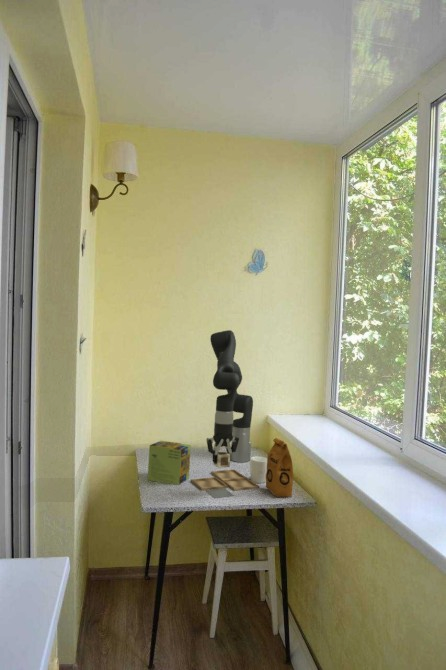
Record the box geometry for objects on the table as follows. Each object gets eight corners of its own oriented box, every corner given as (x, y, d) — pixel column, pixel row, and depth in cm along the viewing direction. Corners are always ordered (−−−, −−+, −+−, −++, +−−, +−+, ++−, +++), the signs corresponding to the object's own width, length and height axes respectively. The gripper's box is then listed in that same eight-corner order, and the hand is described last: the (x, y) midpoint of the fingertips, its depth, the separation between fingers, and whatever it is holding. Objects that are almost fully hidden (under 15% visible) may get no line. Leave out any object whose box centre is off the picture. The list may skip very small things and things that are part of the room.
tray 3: (246, 480, 230) (246, 477, 230) (259, 489, 219) (259, 486, 219) (221, 482, 225) (222, 479, 225) (234, 492, 214) (234, 488, 214)
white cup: (268, 479, 232) (270, 457, 232) (264, 484, 225) (265, 462, 225) (252, 477, 235) (253, 455, 235) (247, 482, 228) (248, 459, 227)
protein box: (179, 486, 217) (181, 450, 216) (147, 480, 222) (148, 444, 222) (189, 479, 227) (191, 444, 226) (158, 474, 232) (160, 439, 232)
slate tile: (225, 489, 216) (225, 488, 216) (234, 497, 208) (234, 495, 208) (205, 491, 212) (205, 490, 212) (214, 499, 204) (214, 498, 204)
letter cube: (224, 463, 213) (225, 451, 213) (229, 467, 208) (230, 454, 208) (213, 464, 211) (214, 452, 210) (218, 467, 206) (219, 455, 206)
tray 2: (234, 472, 241) (234, 469, 240) (246, 480, 230) (246, 477, 230) (210, 474, 235) (210, 471, 235) (221, 482, 225) (222, 479, 225)
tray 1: (215, 480, 228) (216, 477, 228) (227, 489, 217) (227, 485, 217) (190, 482, 223) (190, 479, 223) (201, 491, 212) (201, 488, 212)
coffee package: (272, 498, 209) (275, 444, 208) (262, 488, 221) (265, 437, 220) (295, 497, 211) (298, 444, 210) (284, 487, 223) (287, 437, 222)
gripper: (235, 418, 215) (233, 459, 216) (204, 420, 209) (201, 461, 210) (243, 422, 208) (241, 464, 209) (211, 424, 202) (209, 466, 203)
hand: (221, 462), depth 209 cm, fingers closed on letter cube, 5 cm apart
